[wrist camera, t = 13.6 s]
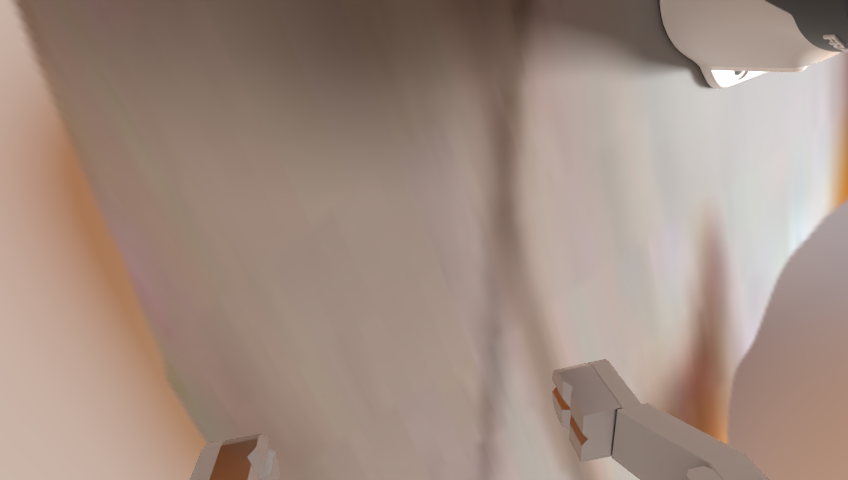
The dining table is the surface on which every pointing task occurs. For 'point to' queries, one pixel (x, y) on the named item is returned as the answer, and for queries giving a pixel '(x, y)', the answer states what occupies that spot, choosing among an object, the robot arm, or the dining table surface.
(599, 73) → the dining table surface
